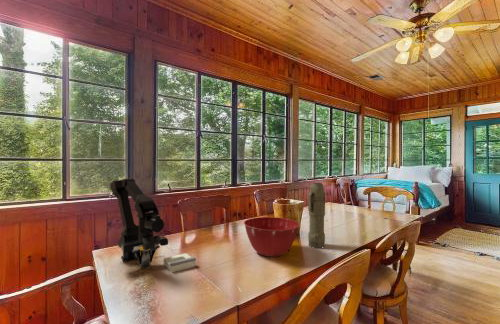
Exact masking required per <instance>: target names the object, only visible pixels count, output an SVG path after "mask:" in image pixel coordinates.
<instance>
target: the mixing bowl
mask: <svg viewBox="0 0 500 324" xmlns="http://www.w3.org/2000/svg"><path fill="white" fill-rule="evenodd" d="M243 224H244V228H245V231H246V234H247V238H248V240H249V243H250V245H251V247H252V249H254V251H255V252H256V253H258V254H259V255H261V256H264V257H269V256H270V257H272V258H274V257H280V256H283V255H284V254H286V253H288V251H289V250H290V249H291V247H292V245H293V243H294V241H295V240H296V236H297V234H298V229H299V227H300V223H299V222H298V221H296V220H293V219H290V218H286V217H285V218H284V217H275V216H273V217H271V216H261V217H253V218H248V219H245V220H244V221H243Z"/></svg>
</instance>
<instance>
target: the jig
mask: <svg viewBox="0 0 500 324" xmlns="http://www.w3.org/2000/svg"><path fill="white" fill-rule="evenodd" d="M162 262H163V265H164V266H165V267H166V268H167V269H168V270H169V271H170V273H175V272H179V271H181V270H186V269H190V268H194V267H196V266H197V265H196V264H197V259H196V257H195V256H190V254H188V253H187V252H186V253H181V254H177V255H172V256H167V257H164V258H163V261H162Z"/></svg>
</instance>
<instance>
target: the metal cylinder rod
mask: <svg viewBox="0 0 500 324" xmlns="http://www.w3.org/2000/svg"><path fill="white" fill-rule="evenodd" d="M140 256H141V264H140V269H148V268H150V267H151V262H150V249H148V250H144V249H140Z"/></svg>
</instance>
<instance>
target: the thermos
mask: <svg viewBox="0 0 500 324" xmlns="http://www.w3.org/2000/svg"><path fill="white" fill-rule="evenodd" d="M325 192H326V191H325V187H324V184H323V183H321V182H312V183H311V184H310V187H309V192H308V201H307V204H308V205H307V210H308V215H309V231H308V239H307V240H308V247H310V246H311V247H310V248H312V247H314V248H313V249H323V248H322V247H324V248H325V243H326V234H325V215H326V193H325Z"/></svg>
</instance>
